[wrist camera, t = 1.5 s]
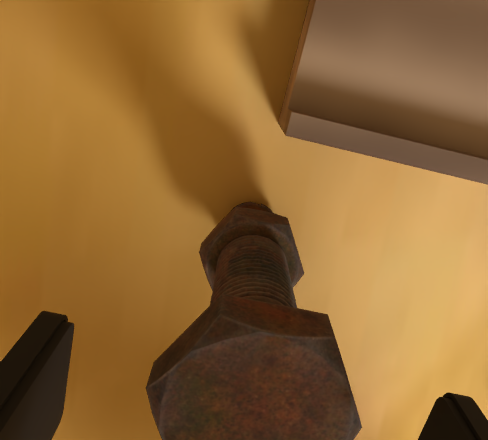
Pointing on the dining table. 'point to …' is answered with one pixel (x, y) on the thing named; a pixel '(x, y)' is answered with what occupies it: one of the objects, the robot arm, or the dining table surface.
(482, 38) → the brown wooden long tray
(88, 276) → the dining table surface
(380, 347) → the dining table surface
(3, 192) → the dining table surface
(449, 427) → the robot arm
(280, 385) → the bolt
